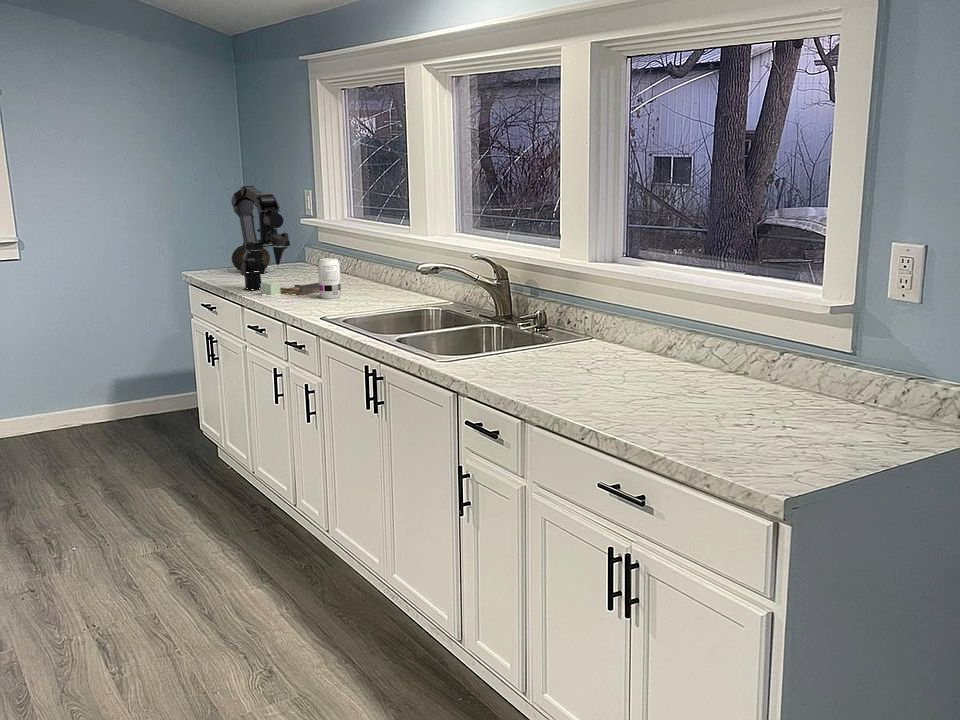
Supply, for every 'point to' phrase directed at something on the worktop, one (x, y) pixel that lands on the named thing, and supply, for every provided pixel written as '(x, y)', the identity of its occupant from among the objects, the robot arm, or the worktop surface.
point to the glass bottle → (240, 251)
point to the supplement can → (329, 278)
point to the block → (270, 288)
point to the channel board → (301, 289)
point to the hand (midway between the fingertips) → (269, 266)
